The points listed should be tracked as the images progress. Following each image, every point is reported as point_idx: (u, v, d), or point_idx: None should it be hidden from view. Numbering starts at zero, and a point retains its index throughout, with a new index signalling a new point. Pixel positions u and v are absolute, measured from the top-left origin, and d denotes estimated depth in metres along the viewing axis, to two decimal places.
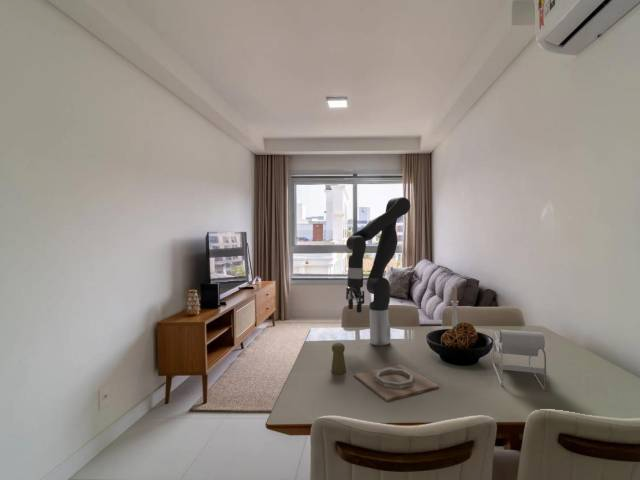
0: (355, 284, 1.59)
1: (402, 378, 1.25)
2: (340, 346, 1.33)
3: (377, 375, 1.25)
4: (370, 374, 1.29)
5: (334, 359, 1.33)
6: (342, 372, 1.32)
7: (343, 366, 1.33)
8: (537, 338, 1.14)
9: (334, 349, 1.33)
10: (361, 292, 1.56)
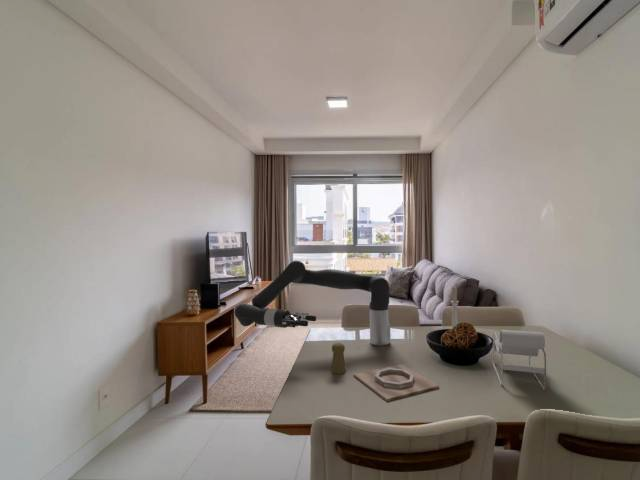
0: (280, 324, 1.41)
1: (402, 378, 1.25)
2: (340, 346, 1.33)
3: (377, 375, 1.25)
4: (370, 374, 1.29)
5: (334, 359, 1.33)
6: (342, 372, 1.32)
7: (343, 366, 1.33)
8: (537, 338, 1.14)
9: (334, 349, 1.33)
10: (283, 323, 1.36)
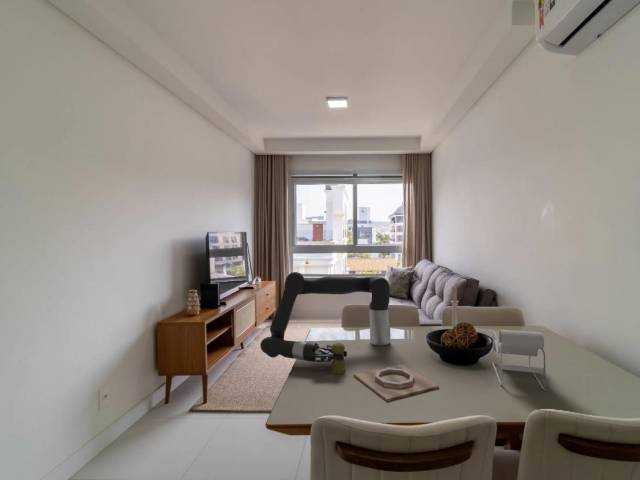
0: (309, 359, 1.36)
1: (402, 378, 1.25)
2: (340, 346, 1.33)
3: (377, 375, 1.25)
4: (370, 374, 1.29)
5: None
6: (342, 372, 1.32)
7: (343, 366, 1.33)
8: (536, 338, 1.14)
9: (334, 349, 1.33)
10: (317, 359, 1.31)
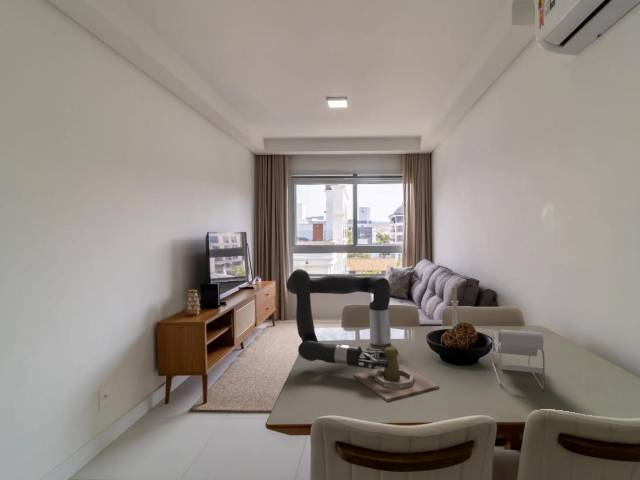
0: (354, 363, 1.26)
1: (402, 378, 1.25)
2: (394, 350, 1.25)
3: (377, 375, 1.25)
4: (370, 374, 1.29)
5: None
6: (396, 378, 1.24)
7: (397, 371, 1.25)
8: (536, 338, 1.14)
9: (387, 353, 1.24)
10: (360, 364, 1.22)
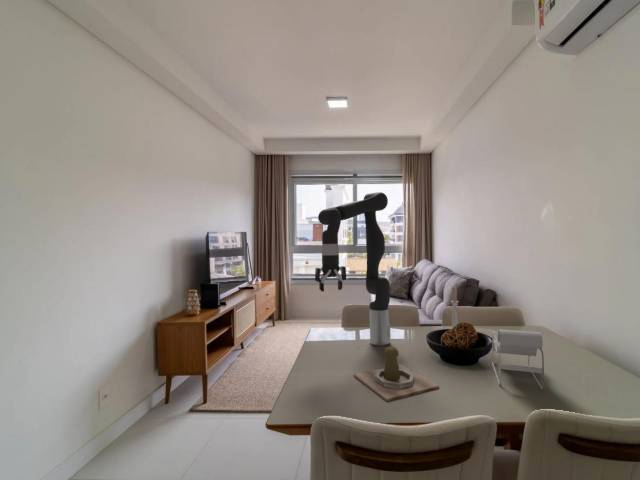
0: (322, 261, 1.49)
1: (402, 378, 1.25)
2: (394, 350, 1.25)
3: (377, 375, 1.25)
4: (370, 374, 1.29)
5: (387, 364, 1.25)
6: (396, 378, 1.24)
7: (397, 372, 1.25)
8: (535, 338, 1.14)
9: (388, 353, 1.24)
10: (316, 269, 1.46)
